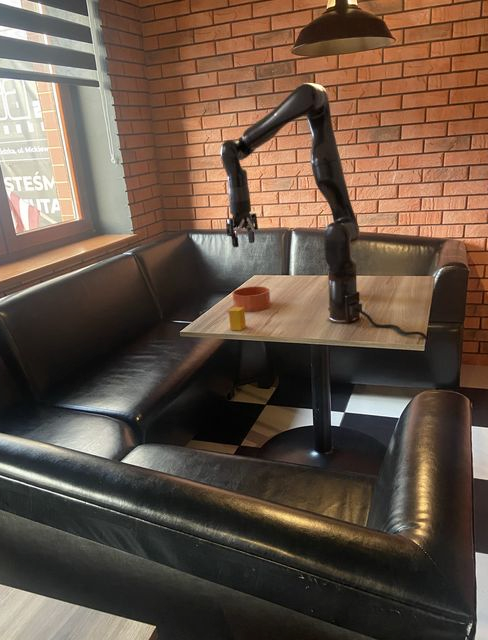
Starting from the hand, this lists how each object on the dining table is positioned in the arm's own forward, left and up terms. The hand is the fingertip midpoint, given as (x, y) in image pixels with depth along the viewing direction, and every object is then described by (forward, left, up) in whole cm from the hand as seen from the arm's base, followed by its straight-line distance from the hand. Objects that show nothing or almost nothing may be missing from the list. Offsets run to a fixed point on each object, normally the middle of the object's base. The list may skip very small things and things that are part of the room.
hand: (244, 245), depth 196 cm
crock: (+3, -4, -25) cm, 25 cm away
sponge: (-13, +17, -25) cm, 33 cm away
